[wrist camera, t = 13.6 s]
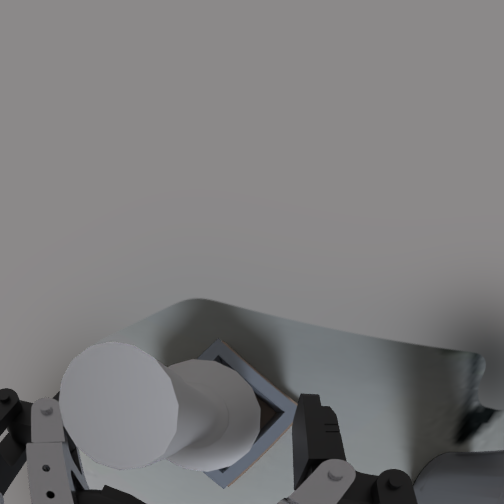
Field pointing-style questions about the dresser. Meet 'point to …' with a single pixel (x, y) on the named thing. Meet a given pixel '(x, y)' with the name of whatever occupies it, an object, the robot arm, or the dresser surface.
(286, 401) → the sleeve
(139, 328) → the dresser surface
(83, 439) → the bottle
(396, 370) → the dresser surface
